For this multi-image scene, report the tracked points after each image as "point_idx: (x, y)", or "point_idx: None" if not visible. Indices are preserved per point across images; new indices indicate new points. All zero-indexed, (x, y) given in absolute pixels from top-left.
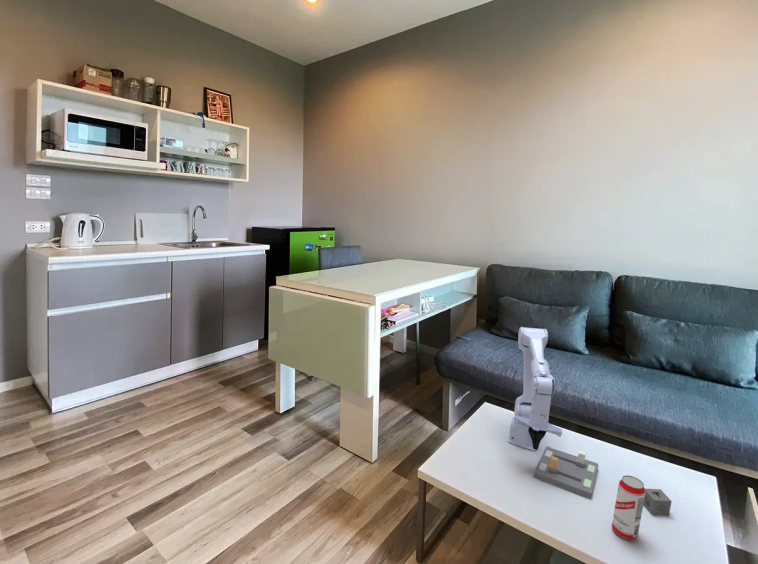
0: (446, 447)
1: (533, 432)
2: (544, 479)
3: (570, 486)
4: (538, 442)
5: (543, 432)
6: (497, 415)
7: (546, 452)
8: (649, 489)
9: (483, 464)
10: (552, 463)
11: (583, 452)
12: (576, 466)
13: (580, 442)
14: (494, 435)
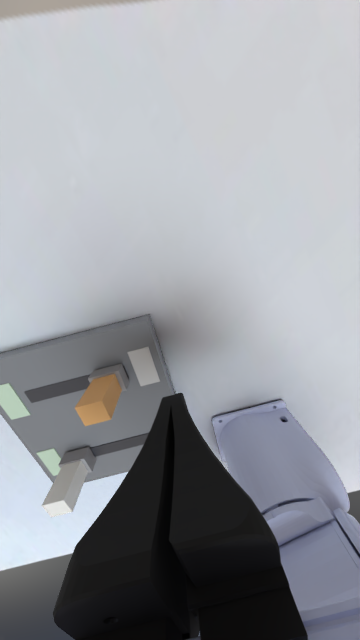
0: None
1: (195, 551)
2: (115, 324)
3: (30, 349)
4: (149, 444)
5: (96, 631)
6: (348, 468)
7: None
8: None
9: (302, 238)
10: (100, 388)
11: (56, 512)
12: (83, 441)
13: None
14: (326, 396)
